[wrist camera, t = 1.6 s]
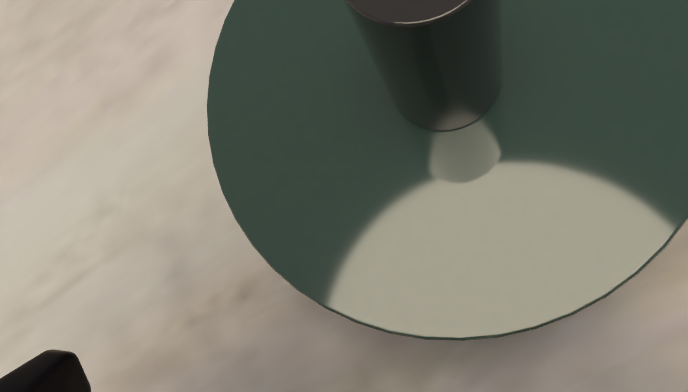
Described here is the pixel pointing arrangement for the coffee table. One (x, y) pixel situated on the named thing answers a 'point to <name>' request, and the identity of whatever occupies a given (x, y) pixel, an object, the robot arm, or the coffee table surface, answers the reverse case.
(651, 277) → the coffee table surface
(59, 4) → the coffee table surface
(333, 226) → the tin lid
